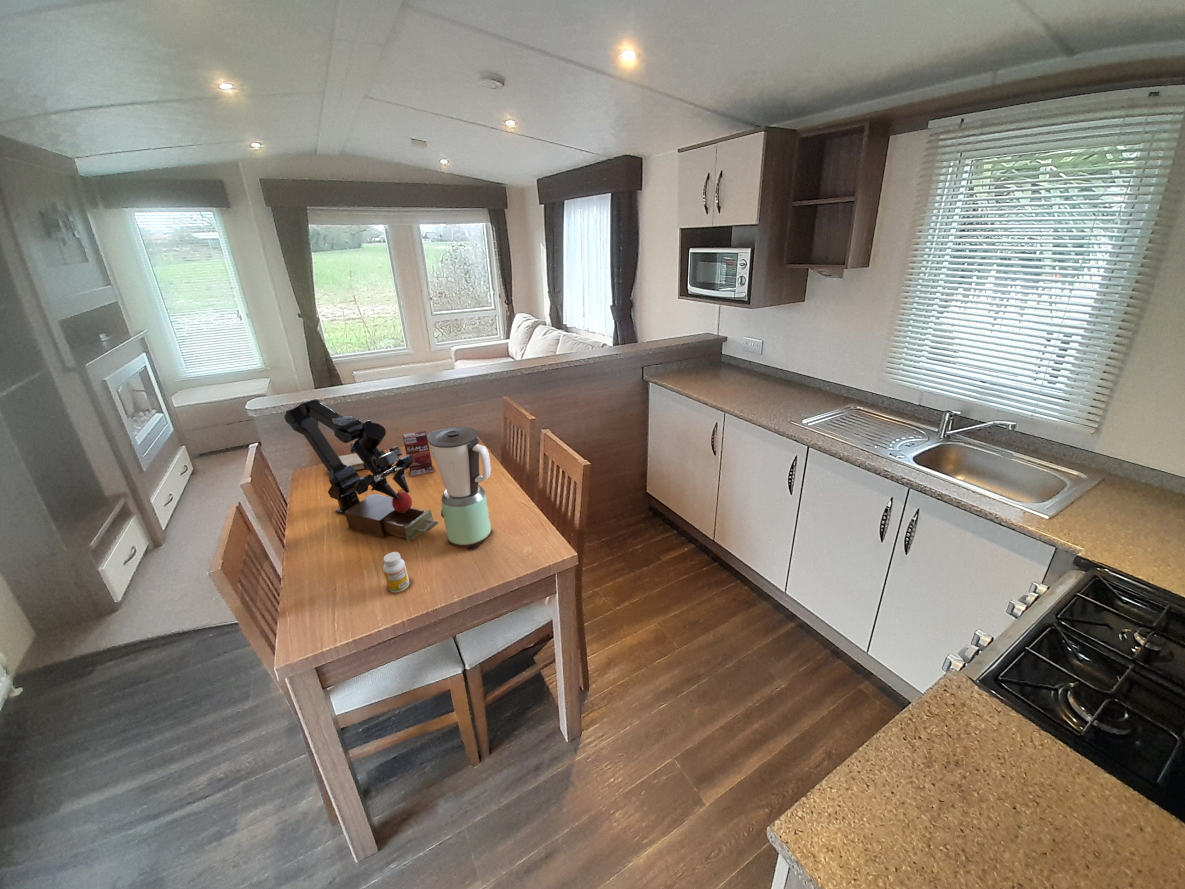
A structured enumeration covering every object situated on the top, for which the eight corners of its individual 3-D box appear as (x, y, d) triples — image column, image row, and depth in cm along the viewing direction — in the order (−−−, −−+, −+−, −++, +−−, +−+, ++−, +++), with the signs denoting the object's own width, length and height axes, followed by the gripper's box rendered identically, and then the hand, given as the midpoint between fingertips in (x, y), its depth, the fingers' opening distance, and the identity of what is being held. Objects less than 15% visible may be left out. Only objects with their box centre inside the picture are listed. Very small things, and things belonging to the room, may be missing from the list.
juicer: (433, 544, 143) (411, 438, 128) (460, 520, 154) (443, 420, 139) (487, 557, 137) (470, 448, 122) (511, 531, 148) (498, 428, 133)
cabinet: (410, 517, 157) (406, 501, 154) (383, 538, 147) (379, 520, 144) (377, 509, 162) (373, 493, 159) (349, 528, 152) (344, 511, 149)
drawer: (444, 525, 151) (442, 512, 149) (421, 544, 142) (418, 531, 140) (401, 514, 157) (398, 502, 155) (376, 532, 148) (373, 519, 146)
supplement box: (410, 476, 182) (402, 439, 176) (409, 471, 186) (401, 434, 180) (434, 471, 185) (426, 434, 179) (432, 466, 189) (425, 430, 183)
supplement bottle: (391, 579, 129) (384, 550, 125) (412, 578, 130) (405, 549, 125) (385, 593, 124) (377, 564, 120) (406, 592, 125) (399, 562, 121)
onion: (413, 516, 145) (409, 493, 142) (393, 519, 144) (388, 496, 141) (414, 506, 151) (410, 484, 147) (395, 509, 149) (390, 487, 146)
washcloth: (330, 462, 195) (328, 456, 194) (377, 455, 201) (375, 448, 199) (326, 475, 185) (324, 468, 184) (376, 467, 191) (374, 460, 189)
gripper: (351, 455, 132) (386, 498, 131) (404, 430, 146) (436, 469, 146) (340, 473, 139) (373, 515, 138) (392, 448, 153) (422, 486, 153)
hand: (403, 495), depth 144 cm, fingers closed on onion, 4 cm apart
